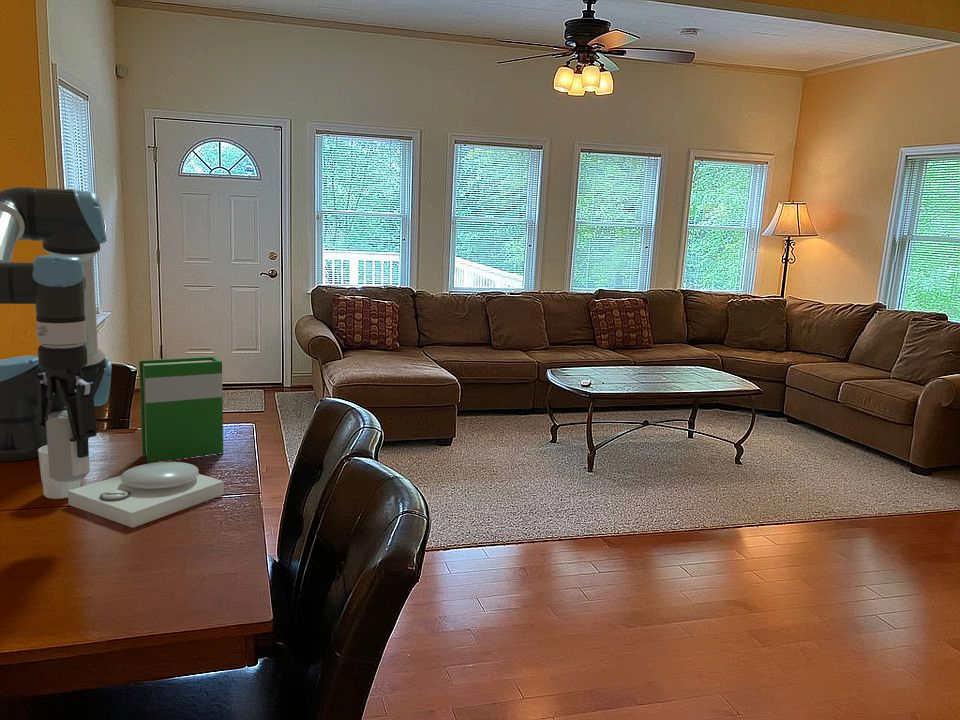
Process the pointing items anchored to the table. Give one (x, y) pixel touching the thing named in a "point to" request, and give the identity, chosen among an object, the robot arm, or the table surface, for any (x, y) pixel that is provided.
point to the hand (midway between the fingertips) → (69, 469)
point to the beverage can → (60, 447)
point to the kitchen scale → (146, 493)
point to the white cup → (50, 485)
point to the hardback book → (181, 408)
